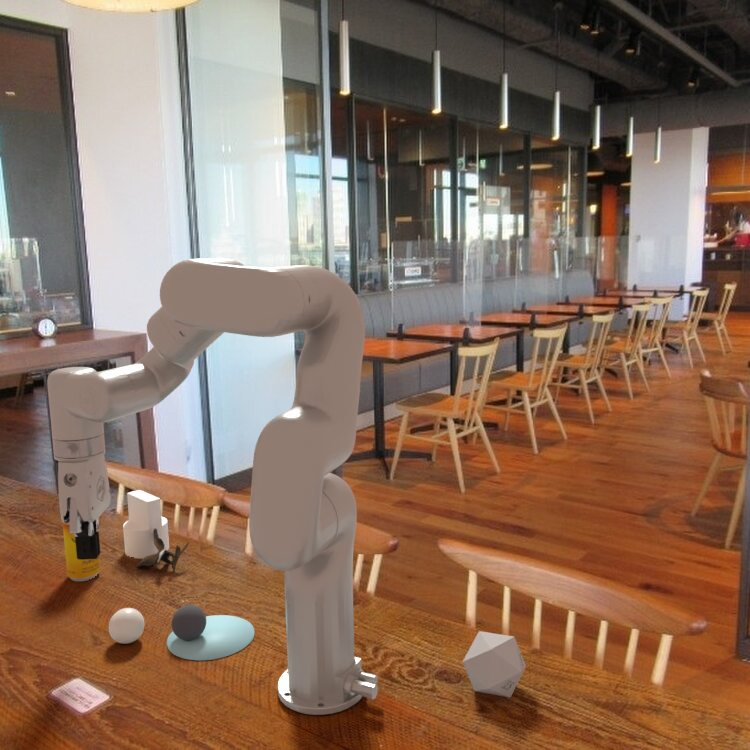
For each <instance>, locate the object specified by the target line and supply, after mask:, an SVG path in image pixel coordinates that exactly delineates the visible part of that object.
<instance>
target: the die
mask: <svg viewBox="0 0 750 750" xmlns="http://www.w3.org/2000/svg"><path fill="white" fill-rule="evenodd" d="M462 664H463V666H464V669H465V671H466V673H467V676H468V678H469V681H470V684H471V685H472V688H473V690H474V692H477V693H483V694H488V695H493V696H499V697H504V698H510V699H511V697H512V695H513V693H514V691H515V689H516V687H517V685H518V683H519V682H520V679H521V677H522V675H523V673H524V671H525V669H526V667H527V665H526V662H525V660H524V656H523V655H522V652H521V650H520V648H519V645H518V641H517V640H516V637H515V636H514V635H513V636H512V635H506V634H500V633H493V632H487V631H480V630H479V631H478V632H477V634H476V636H475V638H474V640H473V641H472V643H471V646H470V647H469V649H468V650H467V653H466V654H465V656H464V658H463V660H462Z"/></svg>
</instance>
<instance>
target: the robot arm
mask: <svg viewBox="0 0 750 750" xmlns="http://www.w3.org/2000/svg"><path fill="white" fill-rule="evenodd" d="M159 300H160V304H161V307H160V308H158V310H157V311H156V312H154V313H153V314H152V315H151V316H150V318H149V319H148V320H147V324H146V332H147V336H148V340H149V342H150V343H151V345H152V348H150V350H149V351H147V352H146V353H145V354H144V355H143V356H142V357H141V358H139V360H137V361H136V362H134V363H131V364H128V365H123V366H119V367H114V368H109V369H106V370H102V371H101V370H100V371H97V370H96V369H94V368H93V367H89V366H69V367H64V368H58V369H54V370H53V371H51V372H50V373H49V374H48V376H47V379H46V381H47V382H46V383H47V394H48V406H49V417H50V427H51V438H52V449H53V459H54V460H55V461H58V464H57V465H58V466H57V467H58V469H57V470H58V471H57V474H58V475H57V476H58V477H57V481H58V483H57V486H58V504H59V513H60V517H61V522H62V521H63V522H64V523H68V522H70V533H74V536H75V542H76V553H77V559H79V560H81V559H96V558H97V557H98V556H99V557H100V555H101V543H100V532H99V529H100V525H99V524H100V522H99V518H100V516H101V515H102V514H103V513H104V512H105V511H106V509H107V508H108V507H109V506H110V504H111V500H112V499H111V490H110V489H111V488H110V481H109V474H108V468H107V461H106V457H105V455H106V443H105V442H106V440H105V429H104V423H109V422H112V421H115V420H119V419H122V418H125V417H127V416H131V415H133V414H136V413H141V412H144V411H147V410H149V409H152V408H154V407H155V406H157V405H159V404H160V403H161V402H163V401H164V400H165V399H166V398H168V396H169V395H171V394H172V393H173V392H175V390H176V389H177V388H178V387H180V386H181V385H182V383H184V382H185V380H186V379H187V378H188V377H189V375H190V373H191V371H192V369H193V367H194V364H195V360H196V359H197V358H198V357H199V356H201V354H202V353H203V352H204V351H206V350H207V349H208V348H209V347H210V346H211V345H212V344H214V342H215V341H216V340H217V339H218V338H220V337H221V336H222V335H223V334H224V333H228V334H235V335H241V336H242V335H243V336H249V337H258V338H259V337H261V338H273V337H280V336H285V335H288V334H293V333H298V332H301V331H302V332H304V334H305V335H304V336H305V337H304V344H303V347H302V350H301V353H300V355H299V358H298V361H297V367H296V372H295V373H296V376H295V380H296V381H295V389H294V391H295V392H294V399H293V402H292V406H291V408H290V409H289V410H286V411H284V412H281V413H280V414H278V415H277V416H275V417H274V418H272V419H271V420H269V422H267V423H266V425H265V426H264V427H263V429H262V430H261V432H260V434H259V436H258V438H257V441H256V444H255V447H254V452H253V460H252V472H251V473H252V474H251V486H250V487H251V488H250V500H249V502H250V503H249V516H248V517H249V518H248V519H249V520H248V527H249V530H248V531H249V537H250V542H251V545H252V547H253V550H254V552H255V553H256V555H257V556H258V558H259V559H260V560H261V561H262V562H263V564H265V565H266V566H268V567H269V568H271V569H273V570H276V571H282V572H284V602H285V603H284V604H285V627H286V628H285V629H286V630H285V631H286V653H287V654H286V655H287V669H286V670H285V671H284V672H283V673H282V674H281V676H280V677H279V679H278V682H277V694H278V695H277V696H278V698H279V700H280V702H282V704H283V705H284V706H285V707H287V708H289V709H290V710H291V711H292V710H293V711H295V712H297V713H301V714H305V715H313V716H323V715H324V716H325V715H331V714H332V715H333V714H335V713H339V712H342V711H345V710H347V709H350V708H351V707H353V706H354V705H356V704H357V703H358V702H359V701H360V700H361V699H362V698H363V697H364V698H367V699H370V700H375V699H376V698H377V696H378V692H379V686H378V685H377V683H378V679H379V677H378V674H373V673H371V672H365V671H364V669H363V668H362V658H361V657H356V656H355V626H354V624H355V623H354V622H355V621H354V620H355V619H354V618H355V617H354V568H353V567H354V564H353V563H354V547H355V546H354V545H355V538H356V536H355V535H356V529H357V518H358V512H357V511H358V510H357V509H358V508H357V501H356V497H355V494H354V492H353V490H352V489H351V487H350V485H349V484H348V483H347V482H346V481H345V480H344V479H343V478H341V477H340V476H339V475H337V474H334V473H331V472H333V471H334V470H336V469H337V468H339V467H340V466H342V464H344V463H346V461H347V460H348V459H349V458H350V456H351V455H352V453H353V452H354V448H355V444H356V437H357V427H358V426H357V425H358V424H357V423H358V415H359V403H360V393H361V377H362V376H361V375H362V366H363V356H364V349H365V337H366V323H365V322H366V321H365V316H364V311H363V308H362V305H361V302H360V300H359V298H358V297H357V295H356V293H355V291H354V290H353V289H352V287H351V286H350V285H349V283H347V282H346V281H345V280H344V279H343V278H341V277H340V276H339V275H337V274H336V273H335V272H333V271H330V270H328V269H325V268H324V267H319V266H315V265H307V264H306V265H301V264H299V265H289V266H270V267H261V266H259V267H258V266H249V265H248V266H246V265H244V264H243V263H241V262H240V261H237V260H235V259H230V258H226V257H225V258H224V257H215V258H214V257H213V258H208V257H207V258H189V259H184V260H182V261H180V262H177V263H176V264H174V265H173V266H171V268H170V269H169V270H168V271H167V272H166V273H165V274H164V276H163V278H162V281H161V283H160V288H159ZM95 531H97V532H95Z"/></svg>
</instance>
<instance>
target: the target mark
mask: <svg viewBox="0 0 750 750" xmlns="http://www.w3.org/2000/svg"><path fill="white" fill-rule="evenodd" d="M205 616H206V615H205ZM255 634H256V633H255V628H254V626H253V624H252V623H251V622H250V621H248V620H246V619H244V618H242V617H239V616H235V615H228V614H226V615H225V614H215V615H208V616H206V627H205V629H204V631H203V633H202V634H201V635H200V636H199V637H197V638H196V639H193V640H182V639H180V638H178V637H177V636H176V635H175V634H174V632H173V630H172V632H171V633H169V635H168V637H167V639H166V647H167V649H168V651H169V652H170V653H171V654H172V655H174V656H176V657H178V658H181V659H184V660H189V661H211V660H212V661H213V660H218V659H222V658H225V657H229V656H232V655H234V654H236V653H238V652H240V651H242V650H244V649H245V648H246V647H247V646H249V645H250V643H252V641H253V640H254V638H255Z"/></svg>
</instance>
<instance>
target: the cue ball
mask: <svg viewBox="0 0 750 750" xmlns="http://www.w3.org/2000/svg"><path fill="white" fill-rule="evenodd" d="M144 630H145V618H144V616H143V615H142V613H141V612H140V610H138V609H136V608H133V607H124V608H120V609H119V610H117V611H116V612H115V613H114V614H113V615H112V616H111V618H110V620H109V623H108V632H109V635H110V637H111V638H112V639H113V640H114V642H117V643H118V644H124V645H125V644H131V643H134V642H135V641H137V640H138V639H139V638H140V637H141V635H142V634H143V632H144Z"/></svg>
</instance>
